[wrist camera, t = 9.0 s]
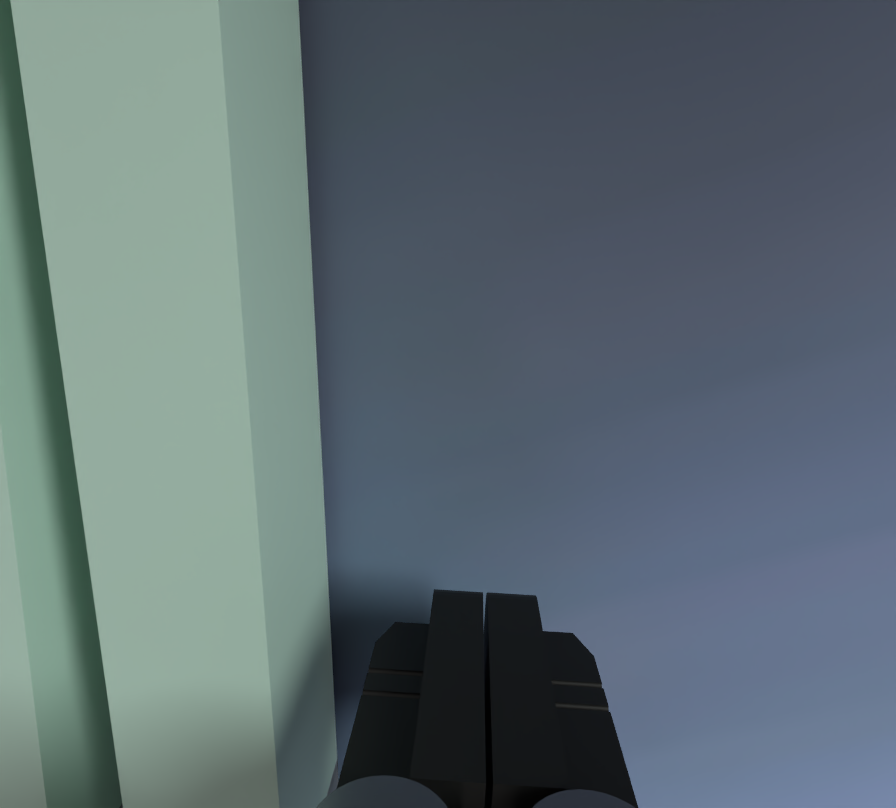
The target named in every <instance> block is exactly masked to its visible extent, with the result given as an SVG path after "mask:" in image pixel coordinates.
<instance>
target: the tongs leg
mask: <svg viewBox="0 0 896 808" xmlns="http://www.w3.org/2000/svg"><path fill="white" fill-rule="evenodd" d="M0 808H123V804H122V797H121V790H120V783H119V776H118V768H117V761H116V754H115V747H114V740H113V733H112V725H111V718H110V711H109V704H108V697H107V690H106V682H105V675H104V668H103V661H102V654H101V647H100V639H99V632H98V625H97V618H96V611H95V604H94V596H93V589H92V582H91V575H90V568H89V561H88V553H87V546H86V539H85V532H84V525H83V517H82V510H81V503H80V496H79V489H78V482H77V474H76V467H75V460H74V453H73V446H72V439H71V431H70V424H69V417H68V410H67V403H66V396H65V388H64V381H63V374H62V367H61V360H60V353H59V345H58V338H57V331H56V324H55V317H54V310H53V302H52V295H51V288H50V281H49V274H48V267H47V259H46V252H45V245H44V238H43V231H42V224H41V216H40V209H39V202H38V195H37V188H36V181H35V173H34V166H33V159H32V152H31V145H30V138H29V130H28V123H27V116H26V109H25V102H24V95H23V87H22V80H21V73H20V66H19V59H18V52H17V44H16V37H15V30H14V23H13V16H12V8H11V1H10V0H0Z"/></svg>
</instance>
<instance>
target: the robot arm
mask: <svg viewBox="0 0 896 808" xmlns="http://www.w3.org/2000/svg"><path fill="white" fill-rule="evenodd" d="M316 808H638V805H637V802H636V798H635V795H634V792H633V788H632V785H631V781H630V778H629V774H628V771H627V768H626V764H625V761H624V757H623V754H622V751H621V747H620V744H619V740H618V737H617V733H616V730H615V727H614V723H613V720H612V716H611V713H610V712H609V711H608V703H607V699H606V696H605V692H604V689H603V688H602V682H601V679H600V675H599V672H598V669H597V665H596V662H595V658H594V656H593V655H592V654H591V653H590V651H589V650H588V649H587V648H586V647H585V646H584V645H583V644H582V643H581V642H580V641H579V639H578V638H577V637H576V636H575V635H574V634H573V633H563V632H547V631H543V630H542V624H541V618H540V613H539V607H538V601H537V597H536V596H535V595H519V594H503V593H487V595H486V605H485V620H484V630H483V592H468V591H452V590H435V589H434V594H433V601H432V609H431V617H430V624H419V623H403V622H395V623H394V624H393V625H392V626H391V627H390V628H389V629H388V630H387V631H386V632H385V633H384V634H383V635H382V636H381V637H380V638H379V639H378V640H377V641H376V642H375V646H374V650H373V653H372V657H371V661H370V665H369V671H368V673H367V676H366V680H365V684H364V687H363V694H362V695H361V699H360V702H359V706H358V710H357V714H356V718H355V721H354V725H353V729H352V733H351V736H350V740H349V744H348V748H347V751H346V755H345V759H344V763H343V767H342V770H341V774H340V778H339V782H338V785H337V788H336V790H334V791H333V792H332V793H330V794H329V795H328V796H326V797H325V798H324V799H323V800H322V801H321V802H320V803H319V804H318V806H317V807H316Z"/></svg>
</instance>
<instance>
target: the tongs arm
mask: <svg viewBox="0 0 896 808" xmlns="http://www.w3.org/2000/svg"><path fill="white" fill-rule="evenodd" d="M10 1H11V8H12V16H13V23H14V30H15V37H16V44H17V52H18V59H19V66H20V73H21V80H22V87H23V95H24V102H25V109H26V116H27V123H28V130H29V138H30V145H31V152H32V159H33V166H34V173H35V181H36V188H37V195H38V202H39V209H40V216H41V224H42V231H43V238H44V245H45V252H46V259H47V267H48V274H49V281H50V288H51V295H52V302H53V310H54V317H55V324H56V331H57V338H58V345H59V353H60V360H61V367H62V374H63V381H64V388H65V396H66V403H67V410H68V417H69V424H70V431H71V439H72V446H73V453H74V460H75V467H76V474H77V482H78V489H79V496H80V503H81V510H82V517H83V525H84V532H85V539H86V546H87V553H88V561H89V568H90V575H91V582H92V589H93V596H94V604H95V611H96V618H97V625H98V632H99V639H100V647H101V654H102V661H103V668H104V675H105V682H106V690H107V697H108V704H109V711H110V718H111V725H112V733H113V740H114V747H115V754H116V761H117V768H118V776H119V783H120V790H121V797H122V804H123V808H316V807H317V806H318V804H319V803H320V802H321V801H322V800H323V799H324V798H325V797H326V796H328V795H329V794H330V793H332V792H333V791H334V790H336V788H337V785H338V763H337V744H336V724H335V705H334V685H333V666H332V646H331V627H330V607H329V588H328V568H327V549H326V529H325V510H324V490H323V471H322V451H321V432H320V412H319V393H318V373H317V354H316V334H315V315H314V295H313V276H312V256H311V237H310V217H309V198H308V178H307V159H306V139H305V120H304V100H303V81H302V61H301V42H300V22H299V3H298V0H10Z"/></svg>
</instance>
